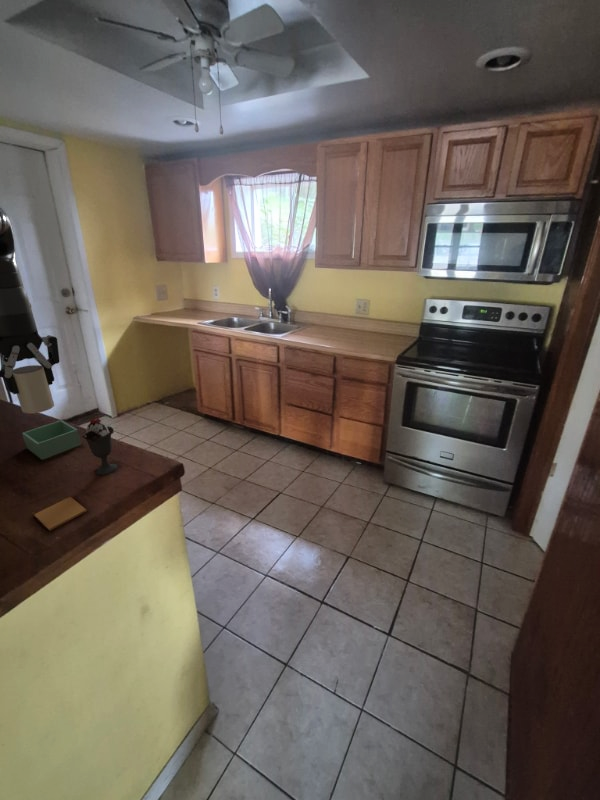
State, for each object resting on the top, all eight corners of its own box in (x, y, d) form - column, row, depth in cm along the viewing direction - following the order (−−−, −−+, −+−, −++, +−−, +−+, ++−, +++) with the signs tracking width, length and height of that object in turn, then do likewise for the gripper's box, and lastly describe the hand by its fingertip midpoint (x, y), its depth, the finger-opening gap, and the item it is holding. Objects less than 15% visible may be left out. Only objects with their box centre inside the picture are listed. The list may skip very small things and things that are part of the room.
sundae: (111, 458, 95) (99, 405, 89) (126, 467, 91) (114, 412, 85) (85, 470, 90) (70, 414, 84) (100, 480, 86) (85, 422, 80)
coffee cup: (29, 416, 78) (16, 375, 75) (17, 409, 82) (4, 370, 78) (59, 406, 83) (48, 368, 79) (47, 400, 86) (36, 363, 82)
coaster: (49, 531, 71) (49, 529, 71) (34, 516, 75) (33, 514, 75) (86, 511, 76) (86, 509, 76) (70, 498, 80) (70, 496, 80)
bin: (42, 461, 93) (37, 444, 91) (27, 449, 98) (21, 432, 96) (82, 446, 100) (77, 429, 98) (65, 435, 105) (61, 419, 103)
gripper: (40, 303, 81) (59, 376, 88) (-44, 313, 70) (-14, 394, 77) (56, 307, 77) (75, 382, 84) (-30, 318, 66) (-1, 403, 73)
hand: (32, 388), depth 80 cm, fingers closed on coffee cup, 6 cm apart
